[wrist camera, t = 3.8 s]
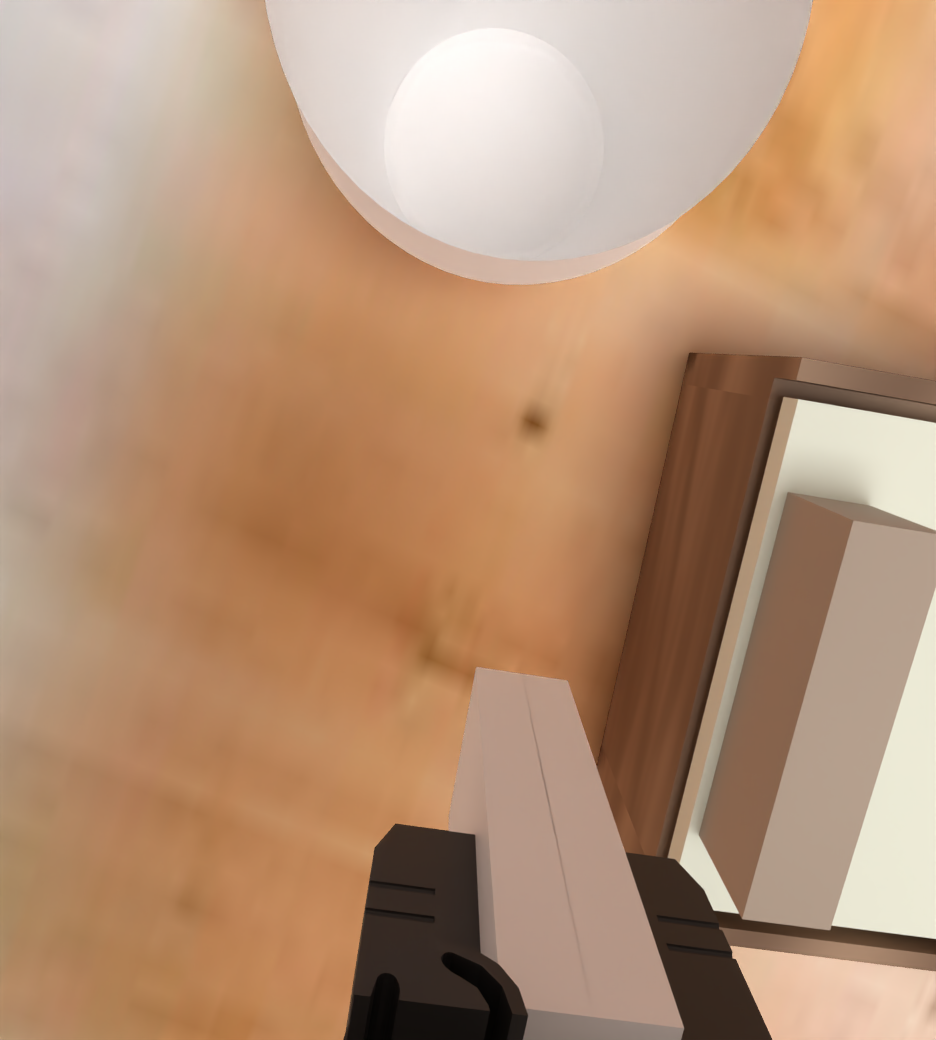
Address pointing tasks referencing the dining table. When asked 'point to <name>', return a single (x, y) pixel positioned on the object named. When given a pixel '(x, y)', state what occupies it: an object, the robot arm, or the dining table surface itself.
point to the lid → (826, 688)
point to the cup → (533, 118)
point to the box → (721, 606)
